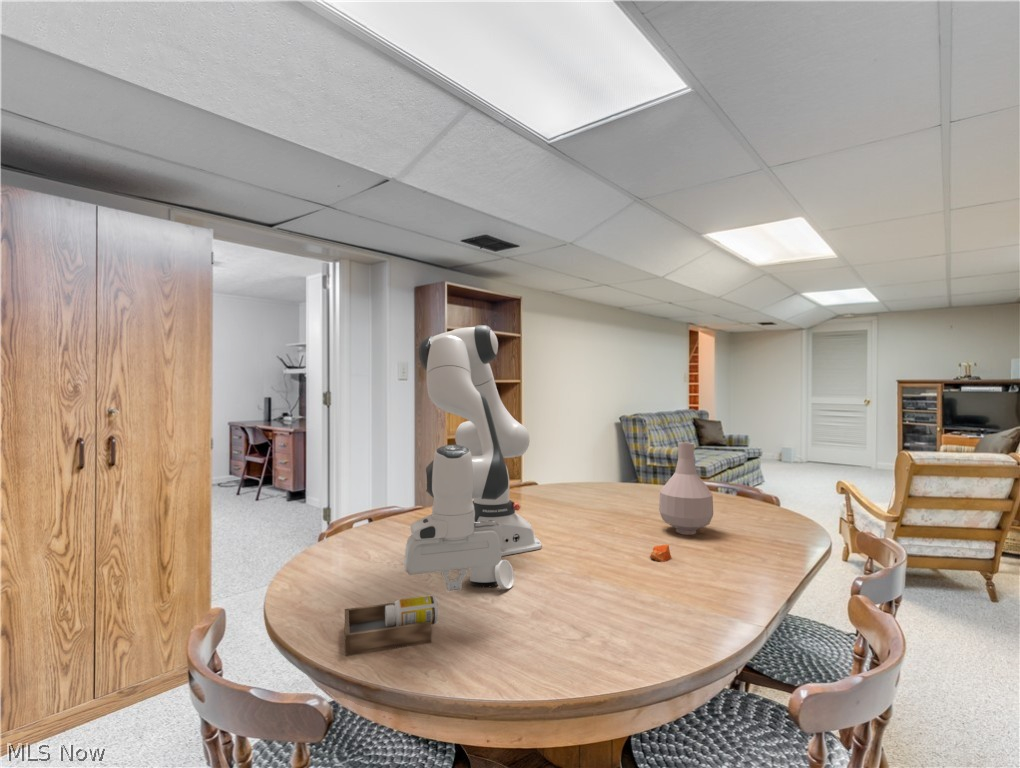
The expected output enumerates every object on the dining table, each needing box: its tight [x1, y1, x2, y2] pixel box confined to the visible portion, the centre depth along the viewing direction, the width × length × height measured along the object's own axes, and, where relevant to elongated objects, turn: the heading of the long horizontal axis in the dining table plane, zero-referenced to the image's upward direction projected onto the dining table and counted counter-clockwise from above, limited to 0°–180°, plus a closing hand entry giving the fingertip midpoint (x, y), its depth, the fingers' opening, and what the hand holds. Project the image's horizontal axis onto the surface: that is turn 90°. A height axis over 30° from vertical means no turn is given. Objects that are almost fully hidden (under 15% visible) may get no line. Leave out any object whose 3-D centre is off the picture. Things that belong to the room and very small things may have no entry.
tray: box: [344, 602, 432, 657], centre depth 105 cm, size 16×12×4 cm
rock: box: [649, 543, 672, 563], centre depth 151 cm, size 12×12×4 cm
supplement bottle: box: [385, 594, 439, 627], centre depth 107 cm, size 6×6×10 cm
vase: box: [658, 441, 714, 536], centre depth 177 cm, size 18×18×30 cm
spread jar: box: [469, 559, 515, 590], centre depth 132 cm, size 12×11×12 cm
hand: (453, 589), depth 110 cm, fingers closed
